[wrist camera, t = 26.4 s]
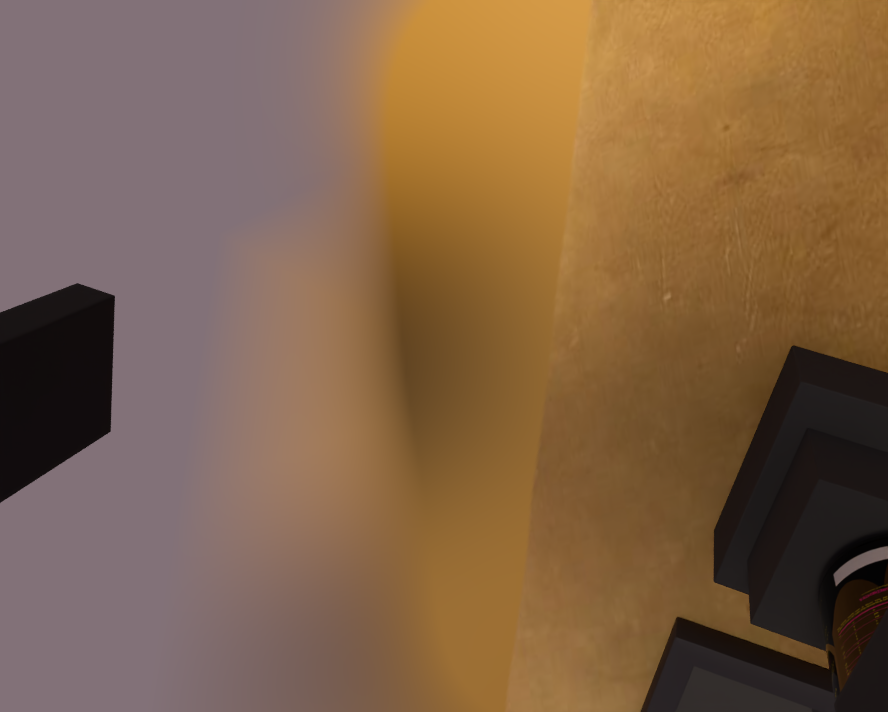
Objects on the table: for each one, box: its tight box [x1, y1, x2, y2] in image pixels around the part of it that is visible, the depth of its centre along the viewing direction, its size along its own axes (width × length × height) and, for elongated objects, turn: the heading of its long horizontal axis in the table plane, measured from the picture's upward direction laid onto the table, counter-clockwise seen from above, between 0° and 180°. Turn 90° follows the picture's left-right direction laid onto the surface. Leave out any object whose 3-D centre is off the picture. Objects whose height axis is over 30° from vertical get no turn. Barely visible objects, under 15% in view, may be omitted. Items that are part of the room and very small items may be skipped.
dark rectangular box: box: [714, 346, 888, 594], centre depth 41 cm, size 12×12×5 cm
